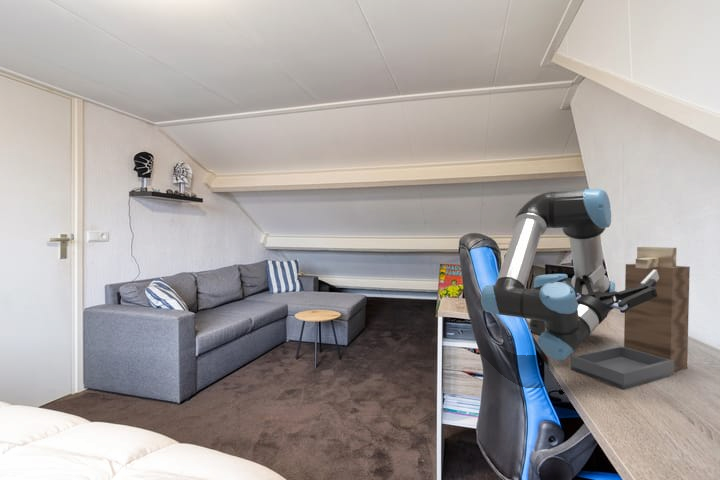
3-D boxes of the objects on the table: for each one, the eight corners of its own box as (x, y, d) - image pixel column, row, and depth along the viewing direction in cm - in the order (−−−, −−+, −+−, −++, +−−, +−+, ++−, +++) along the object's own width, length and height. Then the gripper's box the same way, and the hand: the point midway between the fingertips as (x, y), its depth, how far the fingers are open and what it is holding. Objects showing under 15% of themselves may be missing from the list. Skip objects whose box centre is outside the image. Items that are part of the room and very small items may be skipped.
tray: (623, 389, 88) (624, 374, 88) (570, 369, 101) (571, 355, 101) (673, 374, 97) (674, 360, 97) (619, 358, 110) (619, 345, 110)
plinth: (670, 373, 98) (672, 267, 97) (623, 358, 109) (625, 264, 108) (687, 368, 102) (689, 266, 101) (640, 354, 113) (642, 263, 112)
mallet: (659, 269, 93) (659, 249, 93) (623, 266, 100) (624, 247, 100) (676, 266, 102) (676, 247, 102) (642, 264, 109) (642, 246, 109)
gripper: (547, 315, 104) (588, 276, 111) (643, 339, 81) (686, 288, 88) (539, 294, 102) (580, 256, 109) (634, 313, 79) (679, 263, 86)
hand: (628, 271), depth 98 cm, fingers open, 13 cm apart
